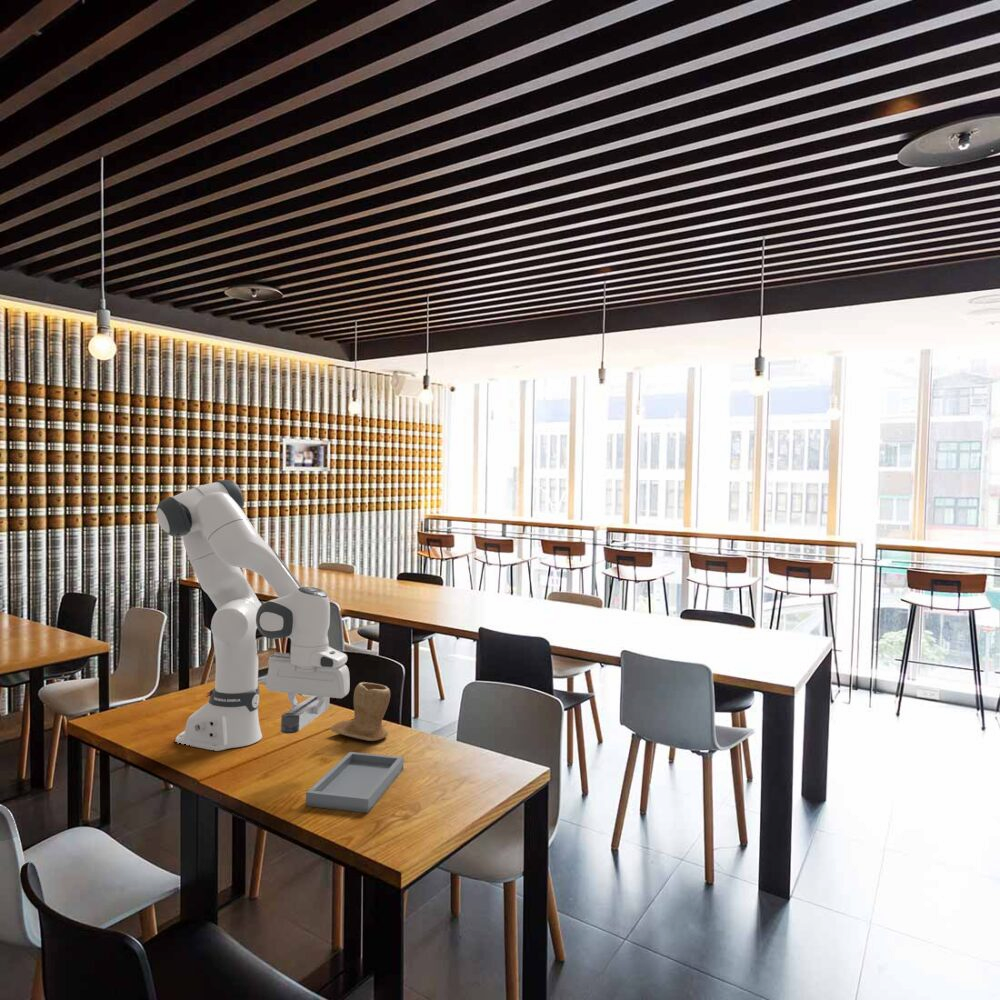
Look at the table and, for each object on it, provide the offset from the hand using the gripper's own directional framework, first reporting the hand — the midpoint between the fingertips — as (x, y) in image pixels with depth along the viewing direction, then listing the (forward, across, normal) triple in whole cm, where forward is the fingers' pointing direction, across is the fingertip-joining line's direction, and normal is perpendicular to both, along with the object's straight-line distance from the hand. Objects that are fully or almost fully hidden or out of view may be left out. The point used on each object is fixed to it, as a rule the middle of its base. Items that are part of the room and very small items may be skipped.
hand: (306, 712), depth 167 cm
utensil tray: (+16, +14, -1) cm, 21 cm away
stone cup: (+16, +4, +32) cm, 36 cm away
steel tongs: (+2, 0, 0) cm, 2 cm away
